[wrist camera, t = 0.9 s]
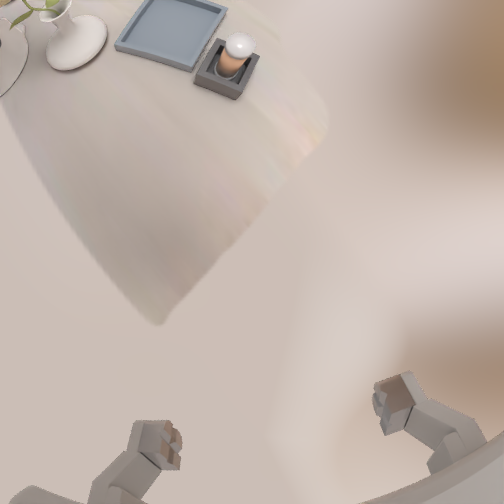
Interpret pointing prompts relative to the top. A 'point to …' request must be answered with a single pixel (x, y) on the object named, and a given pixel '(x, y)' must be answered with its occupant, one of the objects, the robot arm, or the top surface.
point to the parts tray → (171, 31)
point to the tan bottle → (234, 55)
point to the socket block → (218, 83)
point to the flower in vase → (68, 34)
